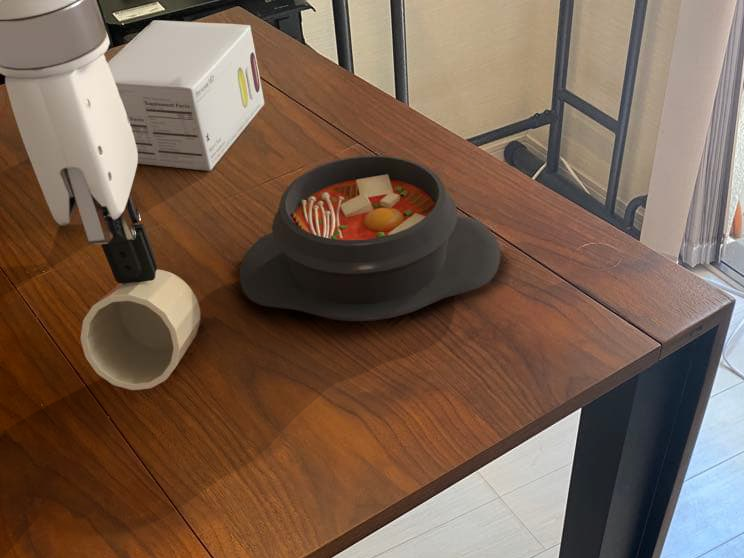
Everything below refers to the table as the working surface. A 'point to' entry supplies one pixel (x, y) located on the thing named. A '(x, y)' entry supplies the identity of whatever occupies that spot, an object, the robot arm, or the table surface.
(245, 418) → the table surface
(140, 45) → the supplement box
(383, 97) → the table surface
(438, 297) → the casserole
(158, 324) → the cup
